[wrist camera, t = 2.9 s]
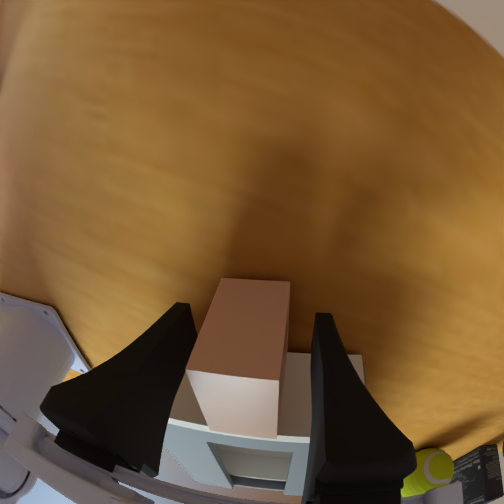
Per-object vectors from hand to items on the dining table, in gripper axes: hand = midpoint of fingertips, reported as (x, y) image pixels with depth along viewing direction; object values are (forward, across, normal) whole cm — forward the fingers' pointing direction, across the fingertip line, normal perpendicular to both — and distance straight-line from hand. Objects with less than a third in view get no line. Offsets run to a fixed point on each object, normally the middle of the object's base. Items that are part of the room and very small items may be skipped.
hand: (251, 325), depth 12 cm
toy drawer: (+2, 0, +9) cm, 9 cm away
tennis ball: (+2, -18, +23) cm, 29 cm away
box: (+2, -30, +32) cm, 44 cm away
